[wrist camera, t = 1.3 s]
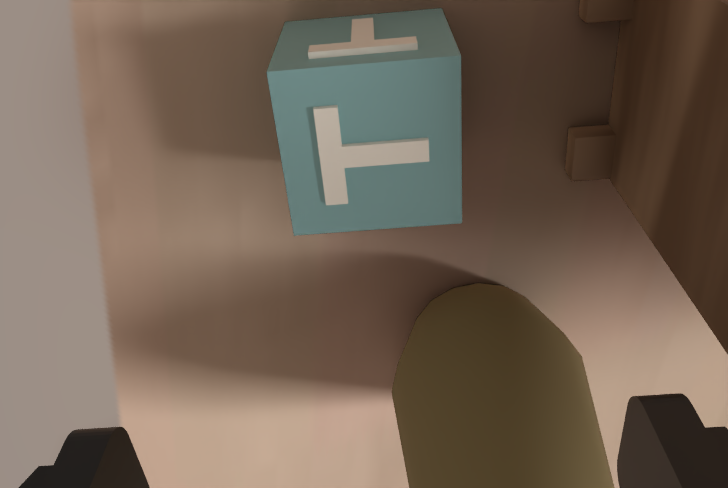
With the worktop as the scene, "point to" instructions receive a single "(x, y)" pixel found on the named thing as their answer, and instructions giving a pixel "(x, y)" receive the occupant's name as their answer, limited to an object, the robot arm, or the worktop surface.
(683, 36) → the screen
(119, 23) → the worktop surface
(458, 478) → the squeeze bottle
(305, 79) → the cube
